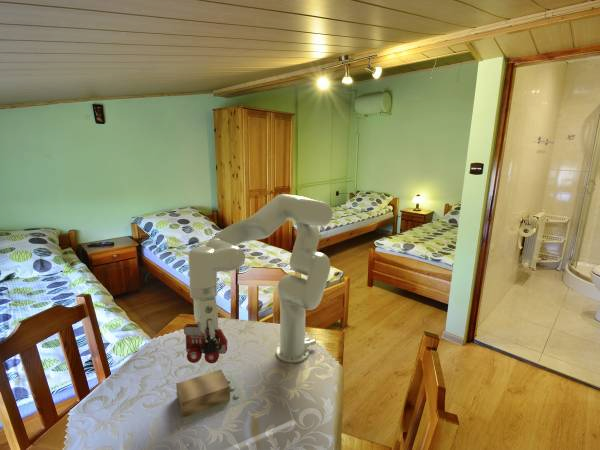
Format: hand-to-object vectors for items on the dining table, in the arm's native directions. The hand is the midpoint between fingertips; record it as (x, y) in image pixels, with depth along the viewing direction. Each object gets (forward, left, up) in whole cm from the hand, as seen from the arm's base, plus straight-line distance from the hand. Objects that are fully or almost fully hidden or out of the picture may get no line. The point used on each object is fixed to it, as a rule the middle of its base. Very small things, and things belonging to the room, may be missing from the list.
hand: (205, 344), depth 96 cm
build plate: (-1, -1, -20) cm, 20 cm away
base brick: (+1, -1, -19) cm, 19 cm away
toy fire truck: (0, 0, -4) cm, 4 cm away
